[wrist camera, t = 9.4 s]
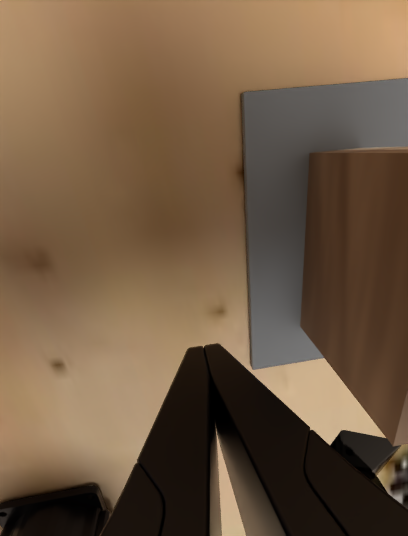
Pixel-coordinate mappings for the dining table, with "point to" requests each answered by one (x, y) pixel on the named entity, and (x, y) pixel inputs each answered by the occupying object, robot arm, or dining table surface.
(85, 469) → the dining table surface
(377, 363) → the tile
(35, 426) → the dining table surface
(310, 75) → the dining table surface
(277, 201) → the mat
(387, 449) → the black angular block
